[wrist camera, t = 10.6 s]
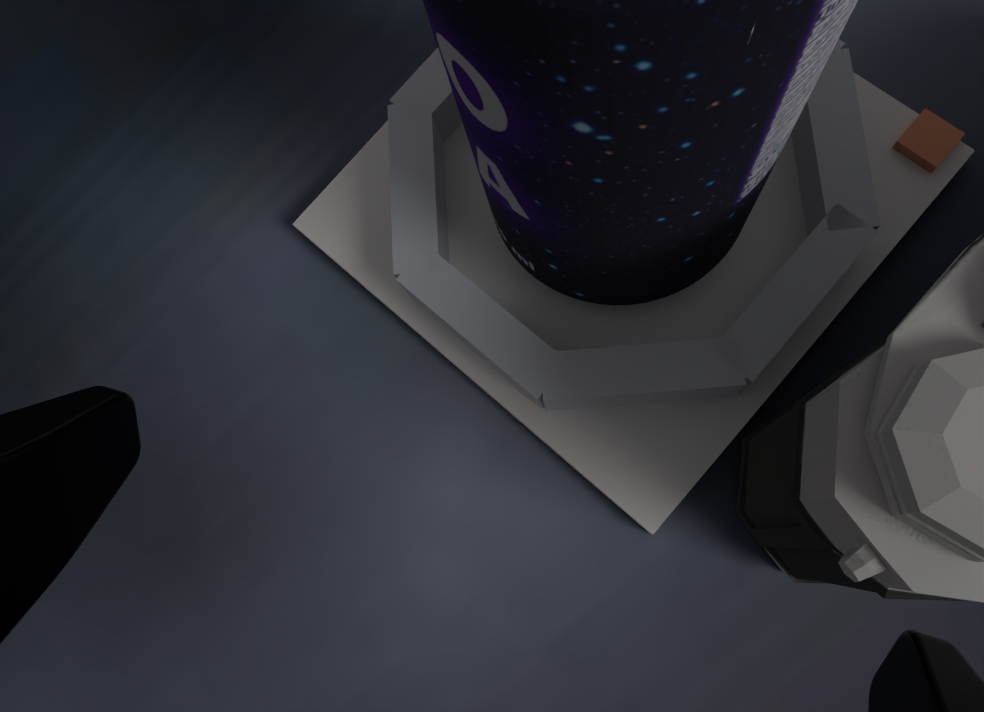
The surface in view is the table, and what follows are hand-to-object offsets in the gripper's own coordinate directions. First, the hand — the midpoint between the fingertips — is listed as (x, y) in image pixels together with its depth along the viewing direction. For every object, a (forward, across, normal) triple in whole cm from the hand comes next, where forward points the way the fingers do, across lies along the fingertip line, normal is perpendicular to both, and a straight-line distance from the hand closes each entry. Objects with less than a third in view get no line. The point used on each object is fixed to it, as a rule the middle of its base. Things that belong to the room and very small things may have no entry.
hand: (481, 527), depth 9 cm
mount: (+12, 0, 0) cm, 12 cm away
